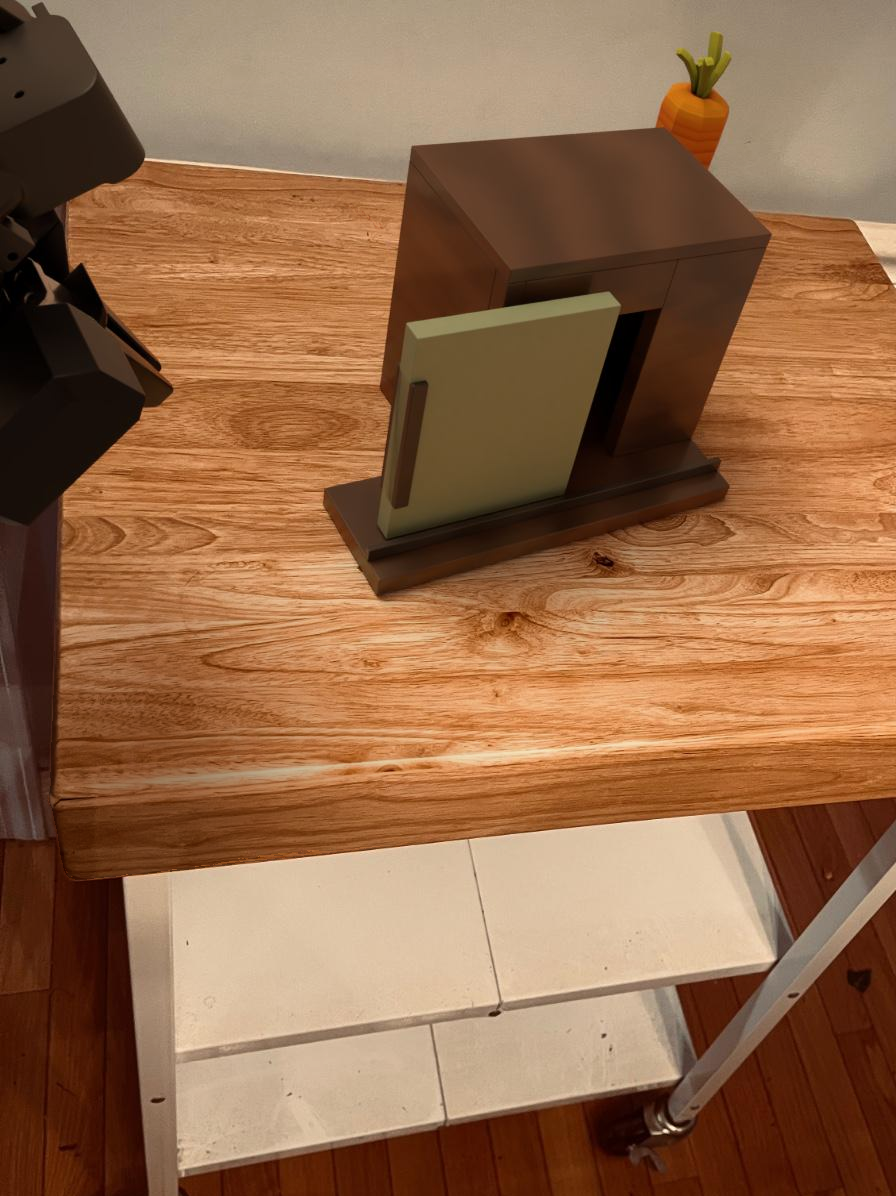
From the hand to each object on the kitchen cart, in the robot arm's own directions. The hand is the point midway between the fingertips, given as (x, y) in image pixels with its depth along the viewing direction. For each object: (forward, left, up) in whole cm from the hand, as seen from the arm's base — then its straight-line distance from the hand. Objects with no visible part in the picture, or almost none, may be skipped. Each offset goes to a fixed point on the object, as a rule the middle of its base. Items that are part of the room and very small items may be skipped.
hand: (159, 385), depth 48 cm
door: (+17, 0, -12) cm, 21 cm away
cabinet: (+21, +5, -14) cm, 25 cm away
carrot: (+45, +23, -14) cm, 52 cm away
